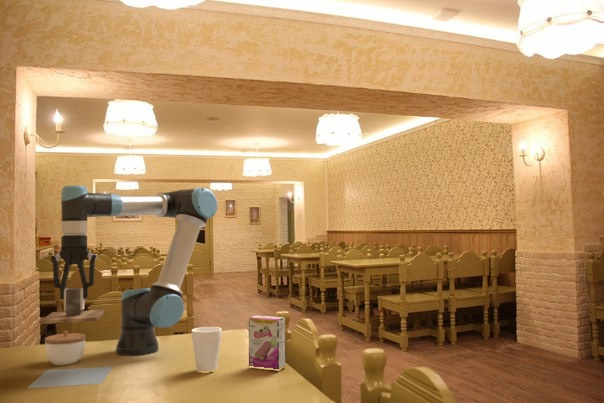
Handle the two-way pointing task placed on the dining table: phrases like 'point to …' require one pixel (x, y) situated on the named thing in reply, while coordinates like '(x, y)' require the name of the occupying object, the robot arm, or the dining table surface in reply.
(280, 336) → the candy bar box
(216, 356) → the foam cup
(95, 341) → the dining table surface
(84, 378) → the mat
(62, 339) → the lidded bowl
